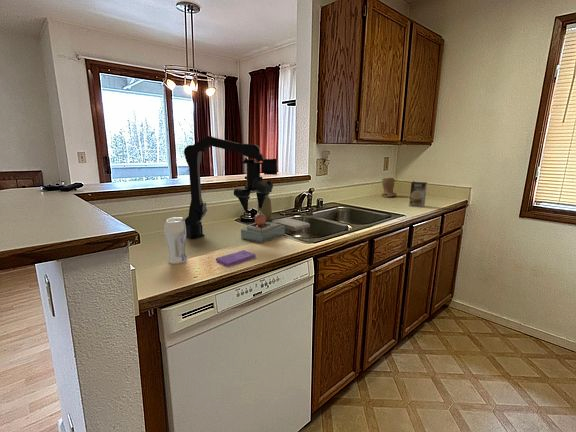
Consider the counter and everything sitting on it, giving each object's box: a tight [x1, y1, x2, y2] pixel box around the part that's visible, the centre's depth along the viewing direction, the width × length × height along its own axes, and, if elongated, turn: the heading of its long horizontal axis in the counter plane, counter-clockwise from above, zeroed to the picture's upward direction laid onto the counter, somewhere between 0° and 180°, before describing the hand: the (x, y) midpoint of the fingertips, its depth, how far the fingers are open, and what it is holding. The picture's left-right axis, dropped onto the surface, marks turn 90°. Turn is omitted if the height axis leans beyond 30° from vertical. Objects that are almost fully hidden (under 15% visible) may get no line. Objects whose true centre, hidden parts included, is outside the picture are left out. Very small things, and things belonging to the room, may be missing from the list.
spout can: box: [254, 211, 267, 228], centre depth 136 cm, size 5×5×8 cm
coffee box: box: [408, 180, 428, 208], centre depth 208 cm, size 9×6×16 cm
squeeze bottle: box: [256, 194, 273, 222], centre depth 168 cm, size 8×8×18 cm
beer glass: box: [163, 217, 188, 265], centre depth 108 cm, size 7×7×15 cm
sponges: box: [215, 249, 257, 268], centre depth 112 cm, size 7×13×2 cm, turn 136°
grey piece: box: [240, 221, 286, 244], centre depth 140 cm, size 19×12×6 cm, turn 145°
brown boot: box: [380, 177, 398, 198], centre depth 248 cm, size 15×12×15 cm
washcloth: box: [271, 217, 311, 232], centre depth 158 cm, size 12×18×3 cm, turn 46°
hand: (253, 210), depth 137 cm, fingers open, 9 cm apart
